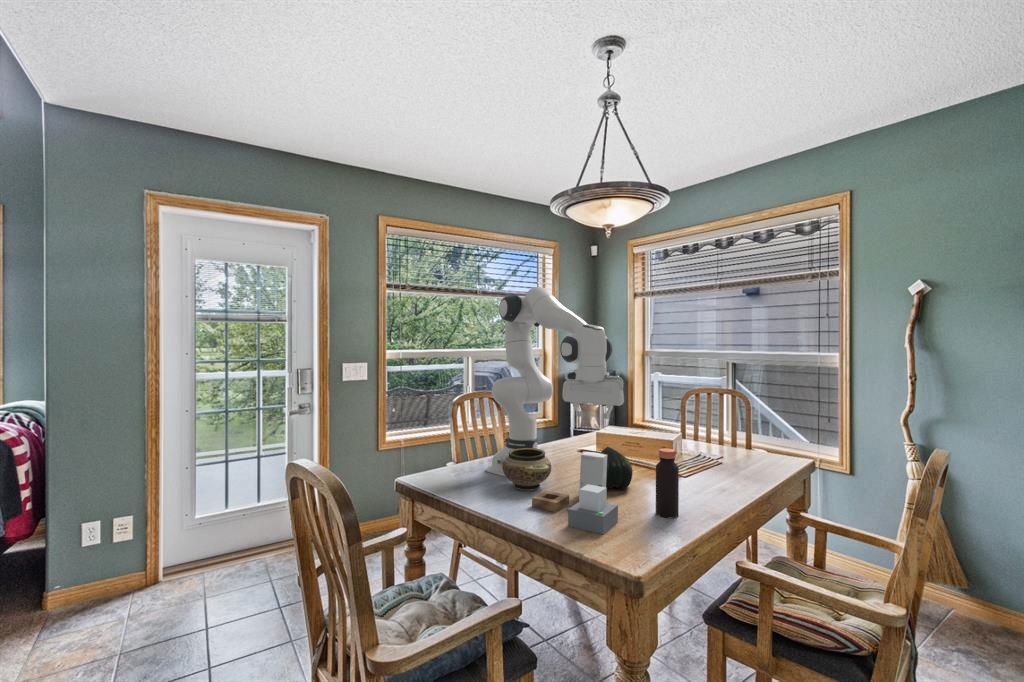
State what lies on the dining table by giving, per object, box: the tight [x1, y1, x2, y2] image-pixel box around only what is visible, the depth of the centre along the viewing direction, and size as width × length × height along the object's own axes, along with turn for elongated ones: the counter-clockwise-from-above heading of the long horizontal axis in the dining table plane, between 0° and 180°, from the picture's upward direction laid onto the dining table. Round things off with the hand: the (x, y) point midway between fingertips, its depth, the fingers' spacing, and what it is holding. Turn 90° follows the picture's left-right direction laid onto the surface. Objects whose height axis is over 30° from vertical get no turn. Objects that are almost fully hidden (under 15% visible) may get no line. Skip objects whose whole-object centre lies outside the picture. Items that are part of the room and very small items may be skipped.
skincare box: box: [579, 451, 607, 489], centre depth 169 cm, size 8×6×15 cm
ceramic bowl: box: [502, 448, 552, 491], centre depth 181 cm, size 24×18×15 cm
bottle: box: [655, 447, 680, 518], centre depth 153 cm, size 7×7×20 cm
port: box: [567, 501, 619, 535], centre depth 145 cm, size 11×11×5 cm
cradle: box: [531, 490, 570, 513], centre depth 160 cm, size 9×9×3 cm
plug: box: [578, 484, 608, 512], centre depth 145 cm, size 6×6×10 cm
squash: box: [599, 446, 634, 490], centre depth 181 cm, size 14×15×15 cm
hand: (592, 417), depth 159 cm, fingers open, 8 cm apart
